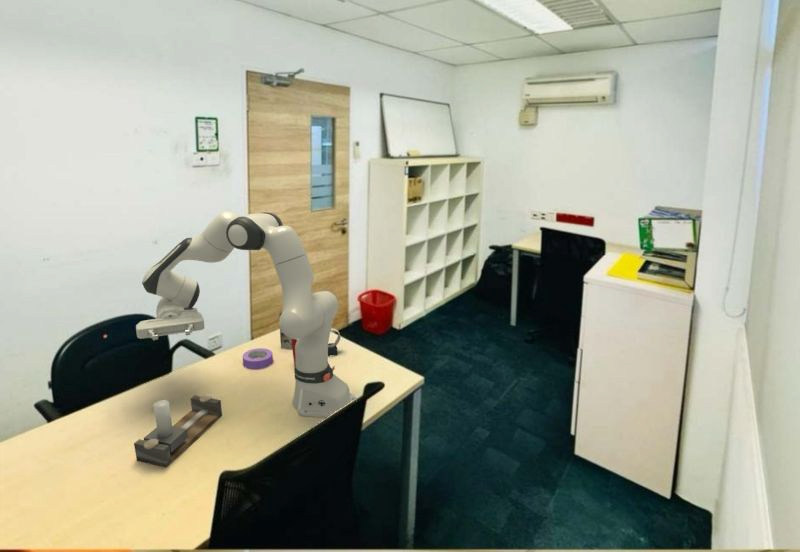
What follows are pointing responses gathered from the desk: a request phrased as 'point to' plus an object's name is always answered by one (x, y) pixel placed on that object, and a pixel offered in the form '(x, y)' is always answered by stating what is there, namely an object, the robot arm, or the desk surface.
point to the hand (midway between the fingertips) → (171, 335)
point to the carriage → (166, 427)
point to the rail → (194, 422)
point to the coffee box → (285, 339)
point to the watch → (333, 345)
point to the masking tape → (253, 363)
